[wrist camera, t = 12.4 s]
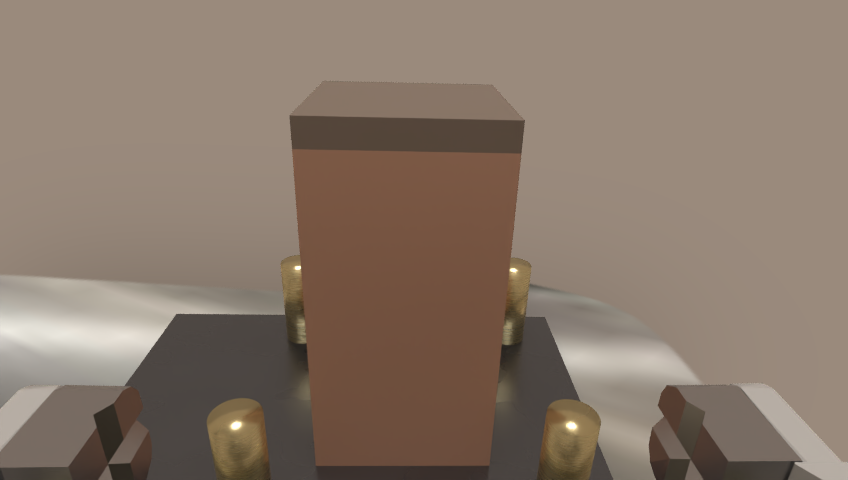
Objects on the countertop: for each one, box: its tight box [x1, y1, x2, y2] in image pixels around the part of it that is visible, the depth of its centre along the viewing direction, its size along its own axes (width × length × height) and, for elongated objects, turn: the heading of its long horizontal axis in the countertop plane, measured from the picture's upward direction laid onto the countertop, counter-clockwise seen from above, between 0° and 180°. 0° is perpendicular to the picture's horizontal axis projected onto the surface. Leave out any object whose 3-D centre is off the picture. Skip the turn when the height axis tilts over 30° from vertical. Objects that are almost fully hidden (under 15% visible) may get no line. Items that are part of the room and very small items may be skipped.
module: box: [290, 81, 525, 466], centre depth 18 cm, size 6×6×11 cm
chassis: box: [125, 255, 613, 480], centre depth 18 cm, size 17×14×5 cm
